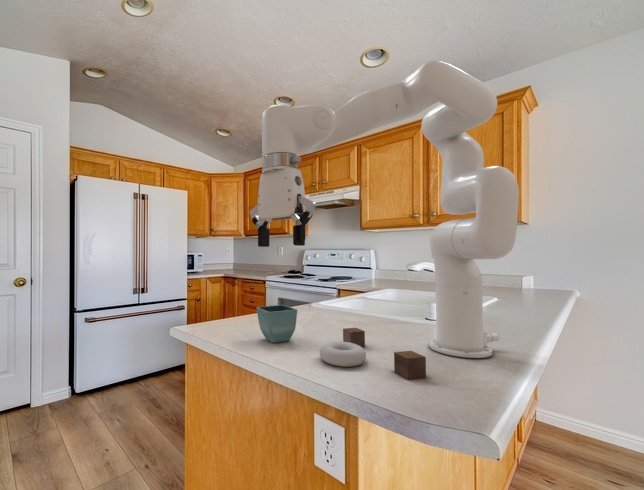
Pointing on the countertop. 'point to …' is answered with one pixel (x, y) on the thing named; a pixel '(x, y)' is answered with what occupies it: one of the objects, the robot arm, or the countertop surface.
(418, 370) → the walnut block
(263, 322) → the flower pot
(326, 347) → the donut
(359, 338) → the walnut block
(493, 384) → the countertop surface
